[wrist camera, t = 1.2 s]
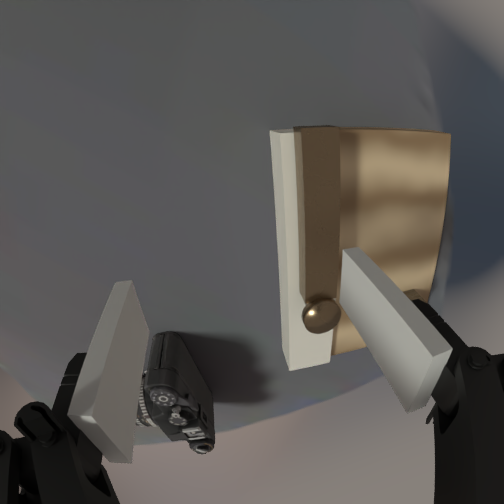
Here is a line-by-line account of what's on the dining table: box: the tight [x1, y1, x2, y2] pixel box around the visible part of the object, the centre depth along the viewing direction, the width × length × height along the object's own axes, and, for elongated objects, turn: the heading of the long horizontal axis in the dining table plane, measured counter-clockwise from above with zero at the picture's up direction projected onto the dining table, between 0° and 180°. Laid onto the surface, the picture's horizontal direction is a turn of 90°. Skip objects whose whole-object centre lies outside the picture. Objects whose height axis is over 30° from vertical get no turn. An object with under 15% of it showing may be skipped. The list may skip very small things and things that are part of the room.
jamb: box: [270, 129, 336, 371], centre depth 30 cm, size 26×5×6 cm, turn 5°
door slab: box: [330, 127, 451, 356], centre depth 32 cm, size 26×14×3 cm, turn 5°
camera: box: [136, 331, 215, 454], centre depth 33 cm, size 14×11×10 cm
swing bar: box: [293, 125, 341, 334], centre depth 25 cm, size 18×4×3 cm, turn 5°
